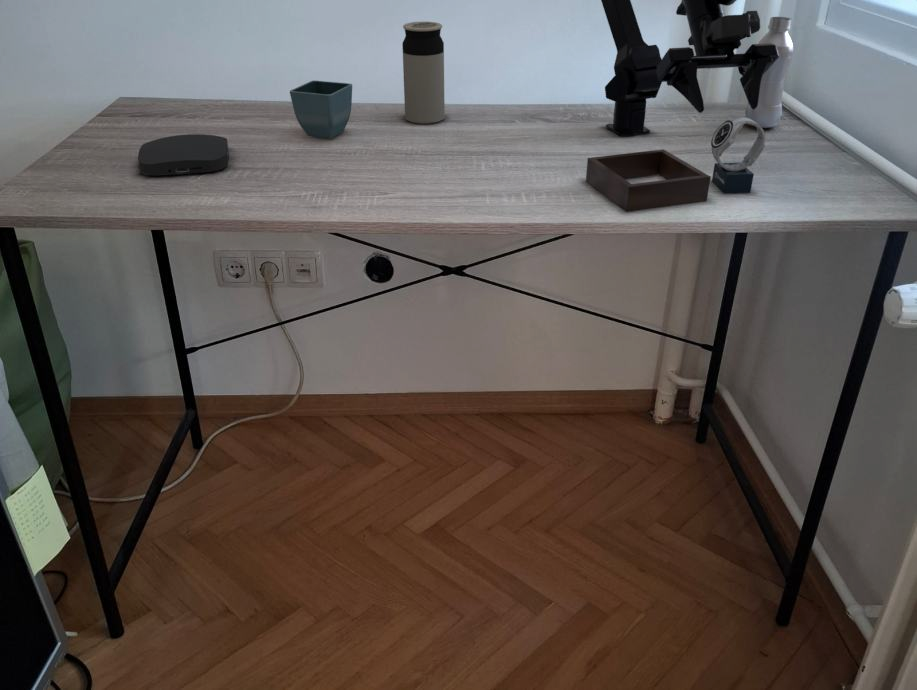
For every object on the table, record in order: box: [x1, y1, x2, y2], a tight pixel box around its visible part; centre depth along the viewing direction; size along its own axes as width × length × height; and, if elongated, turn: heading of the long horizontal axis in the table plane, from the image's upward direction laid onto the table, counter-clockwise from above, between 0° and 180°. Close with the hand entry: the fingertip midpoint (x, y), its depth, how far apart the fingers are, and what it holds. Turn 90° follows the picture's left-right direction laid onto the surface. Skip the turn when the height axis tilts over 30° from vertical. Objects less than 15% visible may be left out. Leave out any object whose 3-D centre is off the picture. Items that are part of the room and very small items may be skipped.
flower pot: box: [289, 80, 353, 140], centre depth 156 cm, size 9×9×9 cm
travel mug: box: [402, 21, 446, 125], centre depth 163 cm, size 8×8×18 cm
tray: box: [585, 149, 712, 213], centre depth 132 cm, size 14×14×4 cm
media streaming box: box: [137, 133, 230, 176], centre depth 144 cm, size 15×15×3 cm
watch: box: [710, 116, 766, 195], centre depth 131 cm, size 6×8×11 cm
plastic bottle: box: [745, 16, 794, 129], centre depth 157 cm, size 6×7×20 cm
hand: (728, 109), depth 132 cm, fingers open, 9 cm apart
